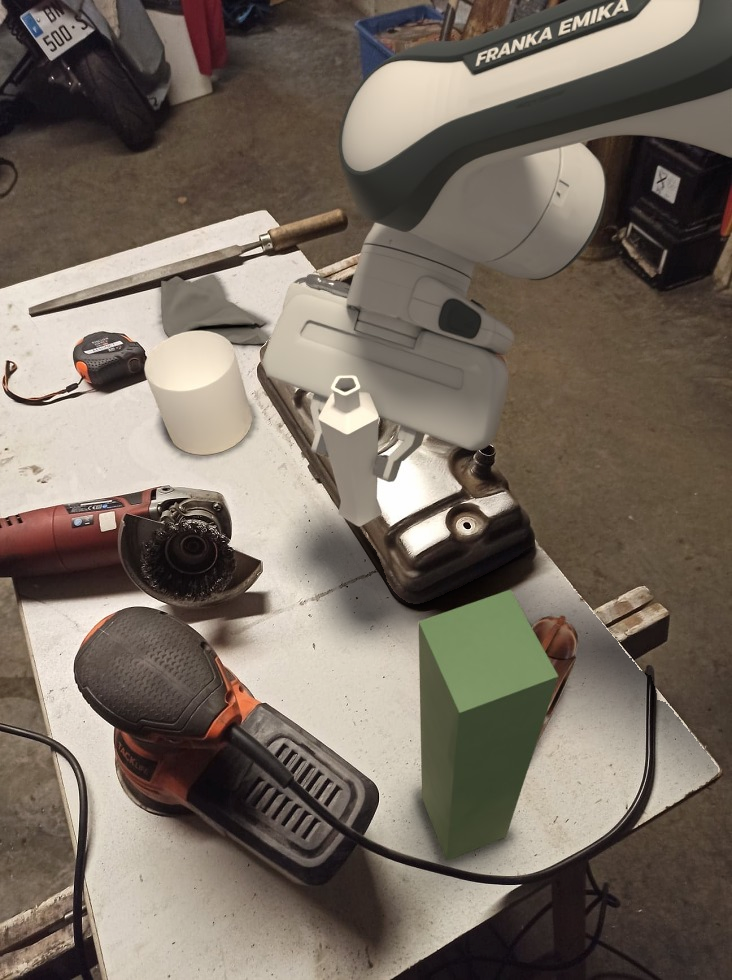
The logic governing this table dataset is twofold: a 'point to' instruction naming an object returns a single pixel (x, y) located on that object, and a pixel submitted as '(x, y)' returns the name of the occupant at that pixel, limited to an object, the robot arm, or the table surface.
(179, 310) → the cloth
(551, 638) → the brown ribbed piece
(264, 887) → the table surface
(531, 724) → the block
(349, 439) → the white faceted bottle
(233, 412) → the cup
